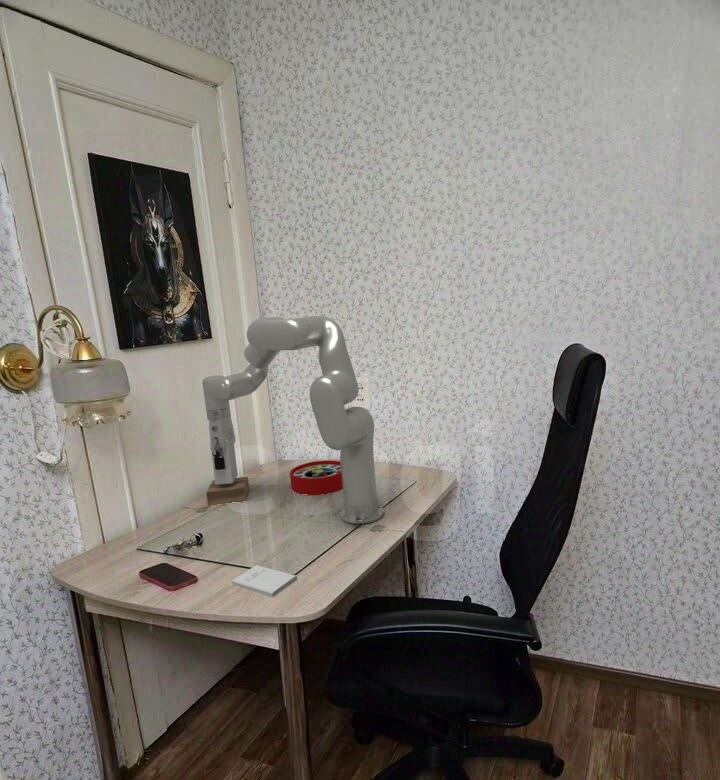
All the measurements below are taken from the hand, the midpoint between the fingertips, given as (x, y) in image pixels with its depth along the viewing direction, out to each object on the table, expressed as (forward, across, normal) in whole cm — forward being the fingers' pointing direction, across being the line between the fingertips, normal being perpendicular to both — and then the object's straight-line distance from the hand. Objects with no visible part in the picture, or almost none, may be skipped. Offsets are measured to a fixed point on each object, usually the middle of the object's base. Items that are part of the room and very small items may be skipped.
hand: (225, 464), depth 178 cm
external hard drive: (+13, -55, -29) cm, 63 cm away
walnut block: (+12, 0, 0) cm, 12 cm away
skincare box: (+6, 0, 0) cm, 6 cm away
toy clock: (+12, +9, -29) cm, 33 cm away
